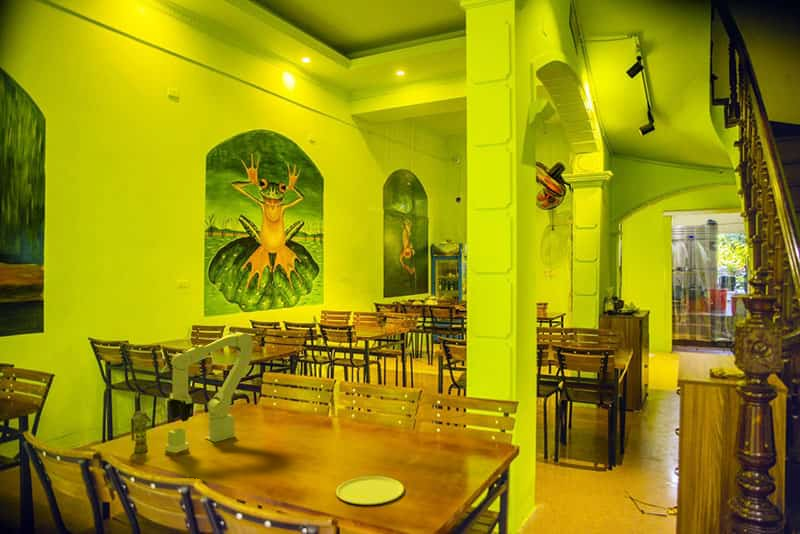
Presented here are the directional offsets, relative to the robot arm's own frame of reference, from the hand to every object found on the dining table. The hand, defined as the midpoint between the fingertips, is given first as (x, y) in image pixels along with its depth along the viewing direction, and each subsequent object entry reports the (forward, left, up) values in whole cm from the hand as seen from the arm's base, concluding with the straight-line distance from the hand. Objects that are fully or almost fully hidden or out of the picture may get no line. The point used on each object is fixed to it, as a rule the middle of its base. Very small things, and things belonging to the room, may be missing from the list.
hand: (180, 419), depth 214 cm
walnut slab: (+5, +7, -11) cm, 14 cm away
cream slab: (+5, +7, -9) cm, 12 cm away
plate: (-16, +89, -11) cm, 91 cm away
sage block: (+5, +7, -7) cm, 11 cm away
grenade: (+13, -7, -11) cm, 18 cm away
